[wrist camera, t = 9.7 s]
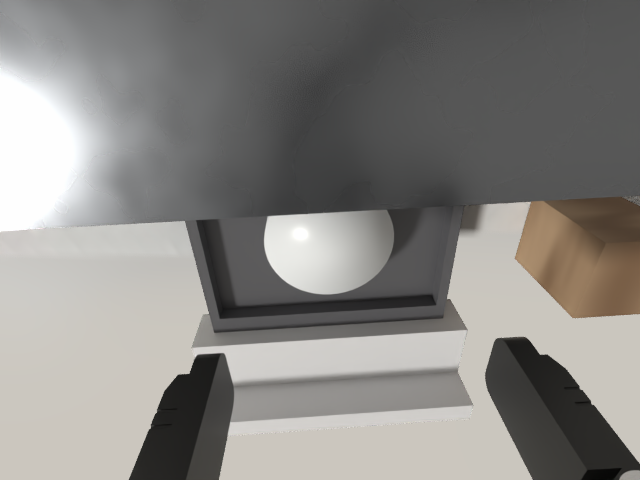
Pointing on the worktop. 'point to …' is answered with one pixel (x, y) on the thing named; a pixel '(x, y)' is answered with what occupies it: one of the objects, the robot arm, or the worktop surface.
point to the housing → (311, 106)
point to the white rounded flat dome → (329, 248)
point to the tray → (334, 331)
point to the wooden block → (585, 254)
